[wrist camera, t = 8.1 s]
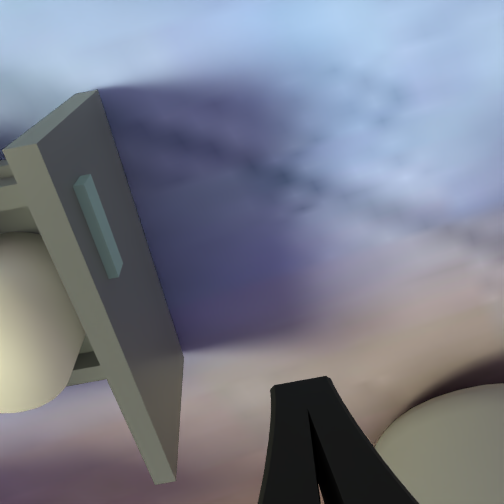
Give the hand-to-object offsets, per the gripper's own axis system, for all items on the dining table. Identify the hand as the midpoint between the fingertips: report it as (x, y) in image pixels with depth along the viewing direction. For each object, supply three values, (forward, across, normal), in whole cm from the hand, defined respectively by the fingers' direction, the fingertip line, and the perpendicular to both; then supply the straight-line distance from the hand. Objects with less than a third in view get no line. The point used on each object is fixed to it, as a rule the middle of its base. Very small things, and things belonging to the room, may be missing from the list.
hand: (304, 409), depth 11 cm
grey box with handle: (+10, +10, 0) cm, 14 cm away
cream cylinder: (+8, +9, 0) cm, 12 cm away
